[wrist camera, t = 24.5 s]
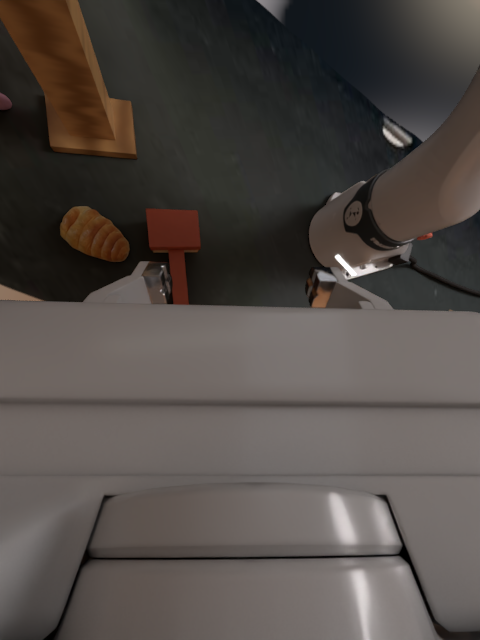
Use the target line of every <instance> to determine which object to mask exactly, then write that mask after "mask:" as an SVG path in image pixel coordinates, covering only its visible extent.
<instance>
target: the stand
mask: <svg viewBox="0 0 480 640" xmlns="http://www.w3.org/2000/svg"><path fill="white" fill-rule="evenodd" d="M0 19H1V20H2V22H3V24H4V25H5V27H6V29H7V30H8V32H9V34H10V35H11V37H12V39H13V40H14V42H15V44H16V45H17V47H18V49H19V50H20V52H21V54H22V55H23V57H24V59H25V61H26V62H27V64H28V66H29V67H30V69H31V71H32V72H33V74H34V76H35V77H36V79H37V81H38V82H39V84H40V86H41V87H42V89H43V91H44V92H45V102H46V111H47V121H48V130H49V140H50V146H51V148H52V149H53V150H54V152H63V153H74V154H85V155H97V156H108V157H119V158H130V159H137V152H136V142H135V131H134V121H133V111H132V105H131V101H124V100H118V99H111V98H109V97H108V93H107V90H106V87H105V84H104V81H103V78H102V75H101V72H100V69H99V65H98V62H97V59H96V56H95V53H94V50H93V47H92V44H91V41H90V37H89V34H88V31H87V28H86V25H85V22H84V19H83V16H82V13H81V9H80V6H79V3H78V0H0Z"/></svg>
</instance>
